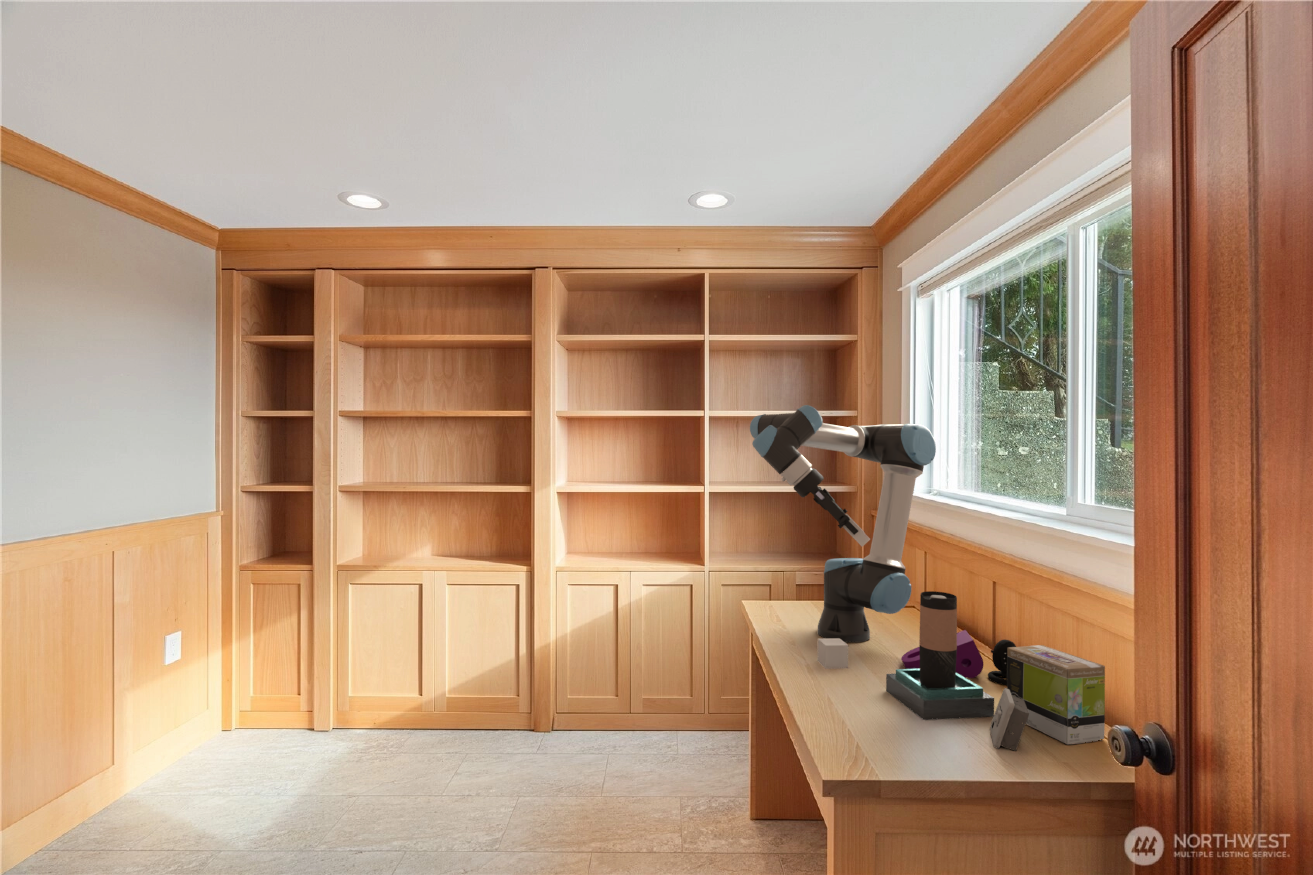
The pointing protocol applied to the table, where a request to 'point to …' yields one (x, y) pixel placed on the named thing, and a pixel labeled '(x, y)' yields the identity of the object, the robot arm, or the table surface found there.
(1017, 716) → the electrical switch
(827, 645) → the light grey cube
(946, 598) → the travel mug
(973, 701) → the block with teal frame
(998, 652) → the webcam
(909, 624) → the table surface
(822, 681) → the table surface
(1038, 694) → the tea box
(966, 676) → the mounting bracket
